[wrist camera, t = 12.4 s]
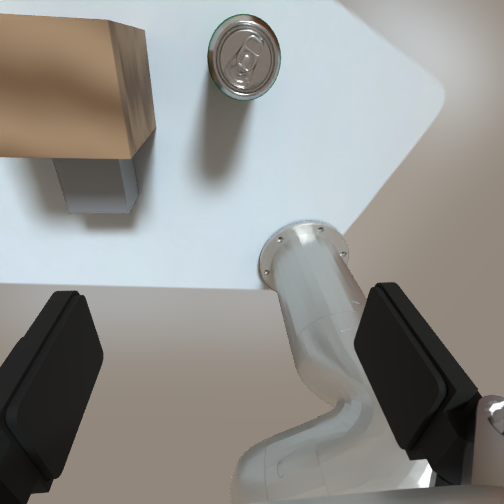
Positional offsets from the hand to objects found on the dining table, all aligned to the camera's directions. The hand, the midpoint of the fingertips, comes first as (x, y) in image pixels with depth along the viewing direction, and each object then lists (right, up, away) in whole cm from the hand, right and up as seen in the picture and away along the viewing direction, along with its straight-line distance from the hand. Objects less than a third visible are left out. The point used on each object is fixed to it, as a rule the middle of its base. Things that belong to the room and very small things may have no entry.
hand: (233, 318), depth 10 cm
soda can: (-1, +21, +20) cm, 29 cm away
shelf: (-15, +19, +20) cm, 32 cm away
